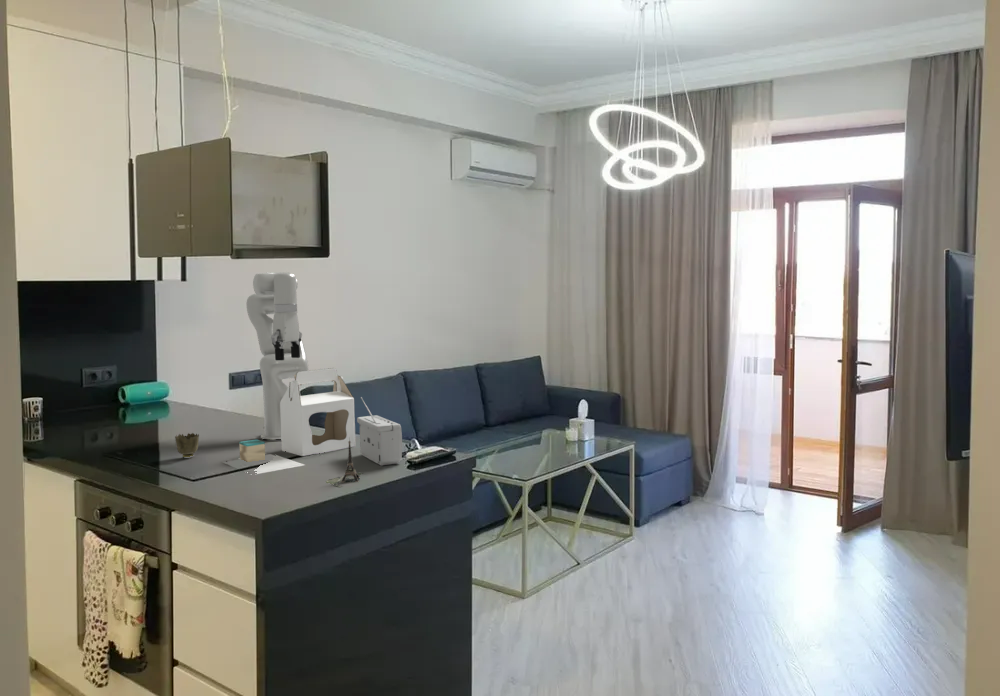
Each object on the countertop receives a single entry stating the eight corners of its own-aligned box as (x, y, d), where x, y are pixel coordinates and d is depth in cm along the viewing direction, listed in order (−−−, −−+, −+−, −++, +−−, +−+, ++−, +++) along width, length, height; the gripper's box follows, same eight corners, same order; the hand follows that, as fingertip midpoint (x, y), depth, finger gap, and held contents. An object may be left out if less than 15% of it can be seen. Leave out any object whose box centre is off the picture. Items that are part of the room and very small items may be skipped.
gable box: (334, 441, 292) (332, 365, 290) (356, 446, 283) (354, 368, 281) (280, 451, 276) (278, 371, 274) (302, 457, 267) (299, 374, 265)
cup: (199, 455, 272) (198, 432, 271) (201, 459, 265) (199, 435, 265) (175, 457, 269) (174, 434, 268) (176, 461, 262) (175, 438, 261)
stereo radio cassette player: (403, 464, 255) (402, 402, 253) (379, 467, 251) (377, 404, 249) (379, 452, 273) (378, 394, 271) (356, 455, 269) (355, 396, 267)
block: (240, 459, 262) (239, 442, 262) (257, 457, 266) (256, 439, 266) (248, 462, 258) (247, 444, 257) (265, 459, 262) (264, 442, 261)
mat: (219, 462, 260) (219, 461, 260) (271, 454, 272) (271, 453, 272) (252, 475, 242) (252, 474, 242) (305, 465, 254) (305, 465, 254)
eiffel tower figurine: (359, 473, 245) (357, 431, 244) (380, 479, 239) (379, 435, 237) (318, 483, 234) (317, 438, 233) (340, 489, 227) (339, 443, 226)
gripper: (290, 308, 283) (292, 356, 285) (261, 310, 267) (263, 361, 268) (308, 308, 281) (310, 356, 282) (281, 310, 265) (283, 361, 266)
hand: (287, 358), depth 275 cm, fingers open, 9 cm apart
